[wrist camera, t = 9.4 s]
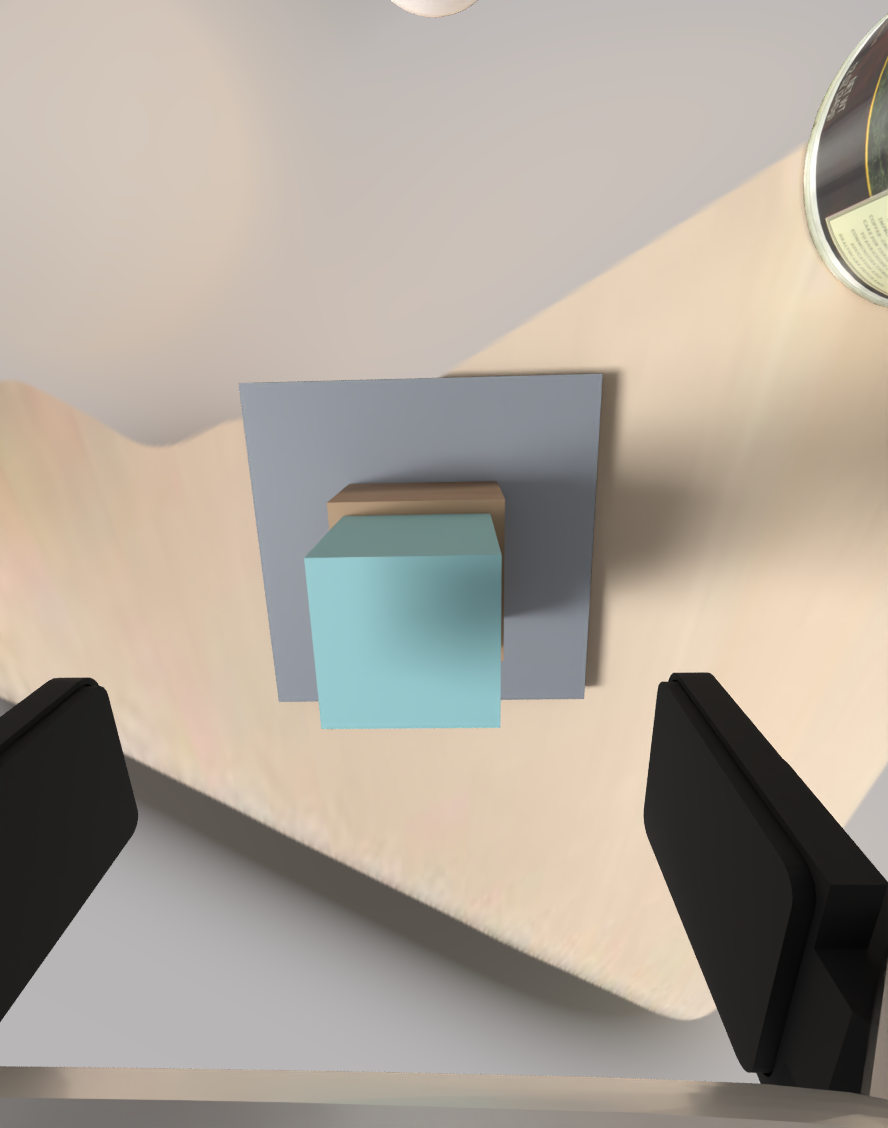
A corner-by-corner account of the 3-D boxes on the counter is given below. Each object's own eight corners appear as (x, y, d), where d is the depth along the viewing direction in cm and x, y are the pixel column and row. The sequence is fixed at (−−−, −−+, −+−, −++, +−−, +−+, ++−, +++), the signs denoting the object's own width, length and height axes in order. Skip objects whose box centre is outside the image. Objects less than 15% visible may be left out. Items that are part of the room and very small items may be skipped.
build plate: (247, 383, 22) (238, 383, 21) (596, 374, 22) (602, 373, 21) (285, 690, 27) (279, 701, 26) (579, 687, 26) (584, 698, 25)
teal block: (342, 516, 19) (304, 557, 14) (489, 513, 19) (501, 554, 14) (353, 649, 20) (321, 729, 16) (490, 648, 20) (500, 727, 15)
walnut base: (349, 484, 23) (326, 502, 19) (496, 480, 22) (504, 499, 19) (359, 620, 24) (340, 662, 20) (496, 618, 24) (503, 661, 20)
